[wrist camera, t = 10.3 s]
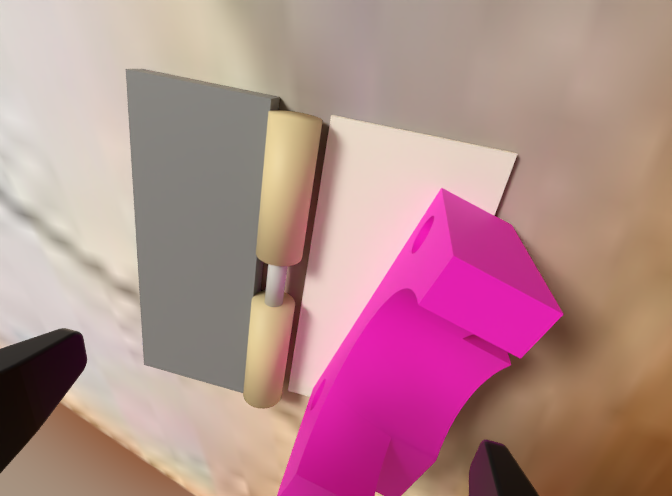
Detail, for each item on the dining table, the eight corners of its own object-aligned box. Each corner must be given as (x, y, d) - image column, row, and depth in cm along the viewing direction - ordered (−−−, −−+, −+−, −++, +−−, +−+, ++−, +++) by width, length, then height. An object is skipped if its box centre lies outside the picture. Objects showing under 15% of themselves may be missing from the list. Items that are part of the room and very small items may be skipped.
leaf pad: (516, 152, 17) (517, 154, 17) (415, 423, 25) (415, 426, 25) (332, 114, 18) (331, 115, 18) (289, 387, 26) (287, 390, 26)
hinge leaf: (329, 107, 18) (317, 112, 16) (285, 389, 26) (273, 418, 24) (142, 68, 19) (107, 69, 17) (155, 352, 27) (132, 377, 25)
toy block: (399, 432, 25) (391, 564, 19) (313, 387, 25) (274, 504, 18) (558, 249, 18) (636, 352, 12) (441, 187, 18) (453, 255, 12)
